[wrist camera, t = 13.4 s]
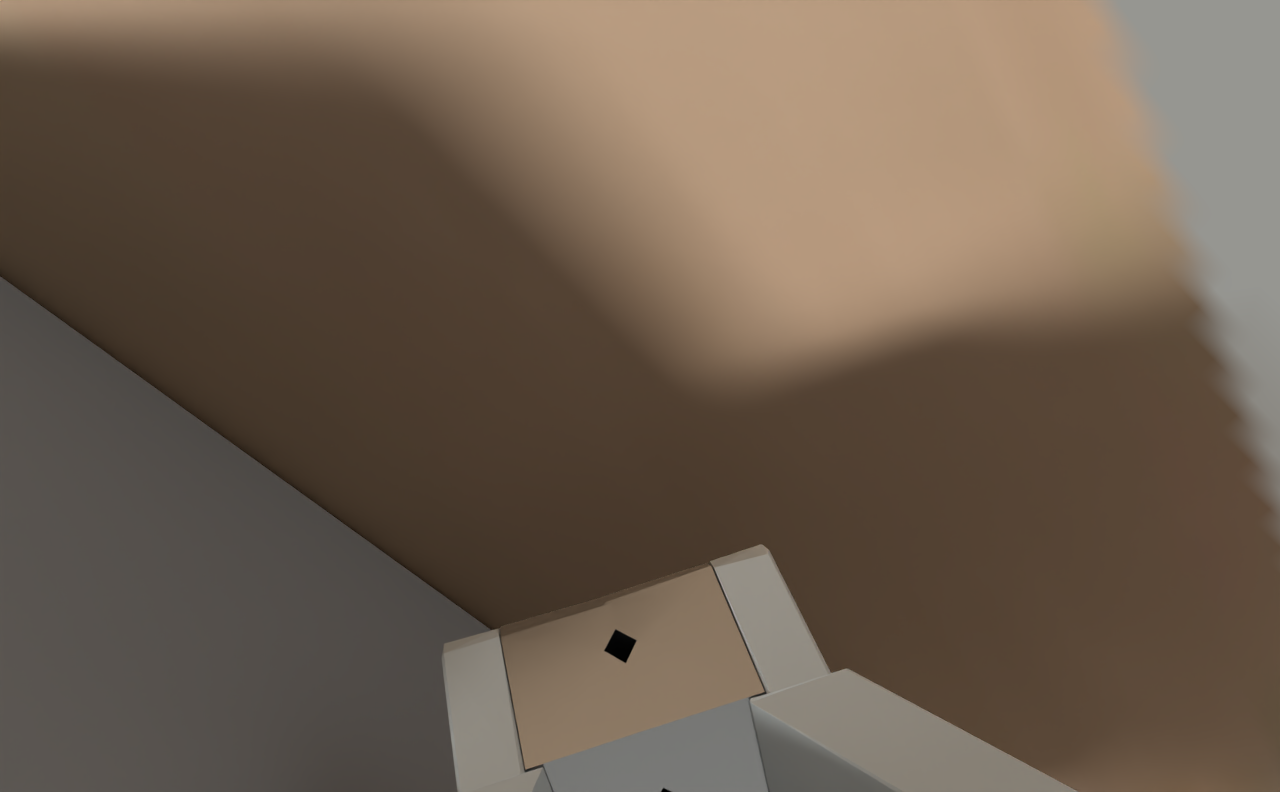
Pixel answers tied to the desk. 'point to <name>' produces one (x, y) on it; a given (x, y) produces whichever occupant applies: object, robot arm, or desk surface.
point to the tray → (191, 602)
